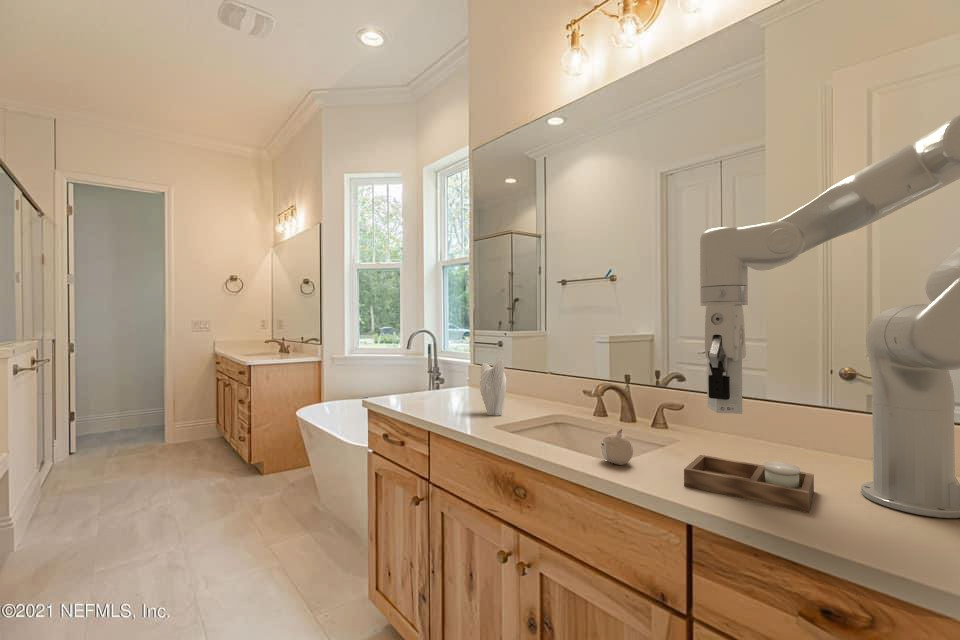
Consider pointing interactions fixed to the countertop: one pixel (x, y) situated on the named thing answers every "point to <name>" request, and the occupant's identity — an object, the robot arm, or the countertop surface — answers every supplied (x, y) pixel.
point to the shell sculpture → (493, 387)
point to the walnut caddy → (747, 482)
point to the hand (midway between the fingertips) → (724, 395)
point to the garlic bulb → (617, 448)
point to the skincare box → (735, 389)
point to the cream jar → (782, 474)
